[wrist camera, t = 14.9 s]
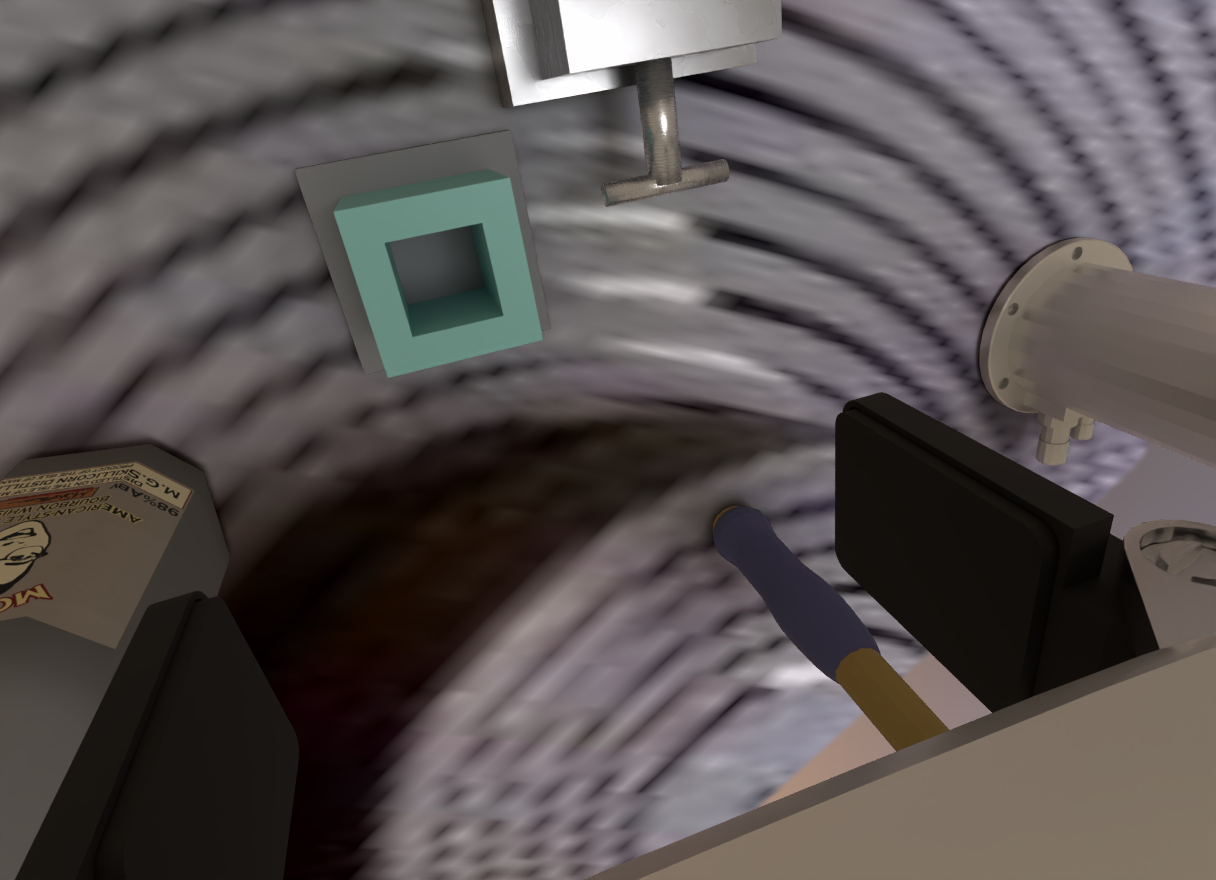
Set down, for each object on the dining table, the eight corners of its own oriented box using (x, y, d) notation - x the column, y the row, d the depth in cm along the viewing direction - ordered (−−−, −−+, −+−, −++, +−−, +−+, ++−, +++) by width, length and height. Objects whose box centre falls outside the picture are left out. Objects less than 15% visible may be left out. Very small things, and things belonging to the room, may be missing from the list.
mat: (546, 324, 38) (550, 329, 37) (365, 368, 36) (364, 374, 35) (507, 129, 33) (510, 130, 32) (296, 168, 31) (294, 169, 30)
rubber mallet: (654, 479, 44) (1046, 988, 18) (753, 426, 45) (1270, 845, 19) (710, 606, 50) (1063, 1121, 24) (796, 558, 51) (1231, 1011, 25)
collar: (519, 308, 36) (543, 340, 31) (386, 339, 35) (387, 378, 29) (489, 168, 33) (509, 177, 27) (341, 197, 31) (333, 211, 26)
